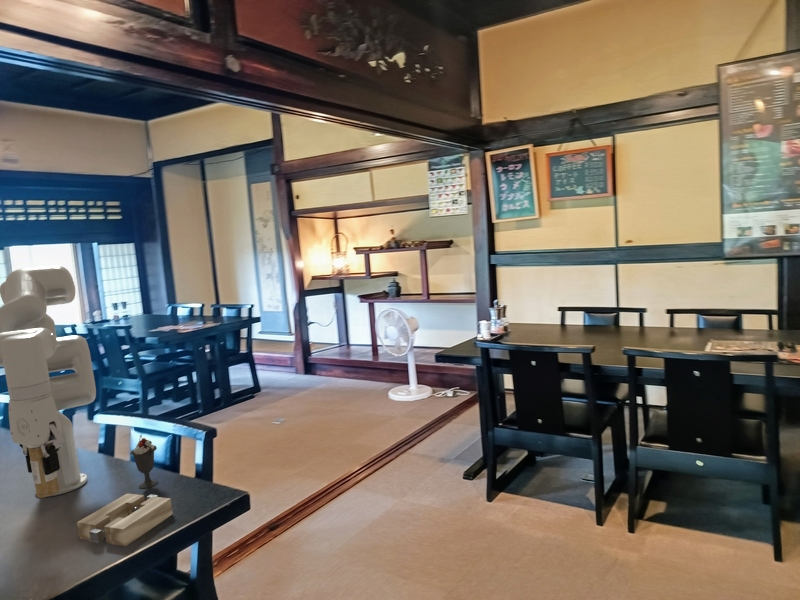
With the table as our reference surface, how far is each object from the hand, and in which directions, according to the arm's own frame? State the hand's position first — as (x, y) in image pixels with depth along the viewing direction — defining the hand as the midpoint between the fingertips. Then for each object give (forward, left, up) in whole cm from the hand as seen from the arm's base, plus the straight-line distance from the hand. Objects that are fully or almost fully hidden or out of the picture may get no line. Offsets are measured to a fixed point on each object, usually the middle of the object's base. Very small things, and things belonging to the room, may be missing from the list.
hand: (44, 470), depth 119 cm
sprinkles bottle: (0, 0, -6) cm, 6 cm away
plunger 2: (+9, +16, -17) cm, 25 cm away
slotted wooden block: (+9, +11, -18) cm, 23 cm away
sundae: (-4, +30, -18) cm, 35 cm away
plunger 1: (+9, +5, -17) cm, 20 cm away
